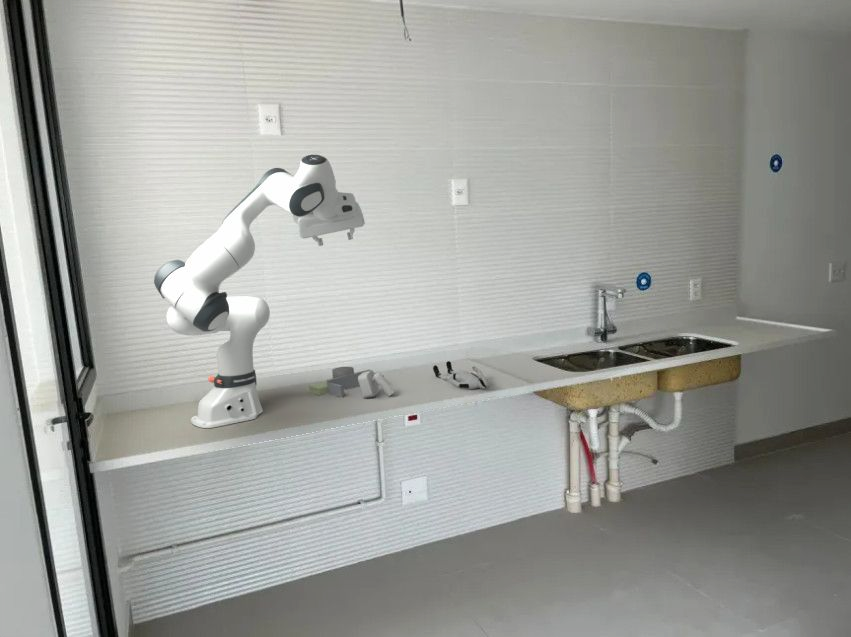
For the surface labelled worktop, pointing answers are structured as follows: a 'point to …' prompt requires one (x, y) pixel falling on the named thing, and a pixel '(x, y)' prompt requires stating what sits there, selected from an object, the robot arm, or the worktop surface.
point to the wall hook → (373, 384)
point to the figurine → (463, 377)
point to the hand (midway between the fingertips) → (335, 241)
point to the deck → (338, 382)
